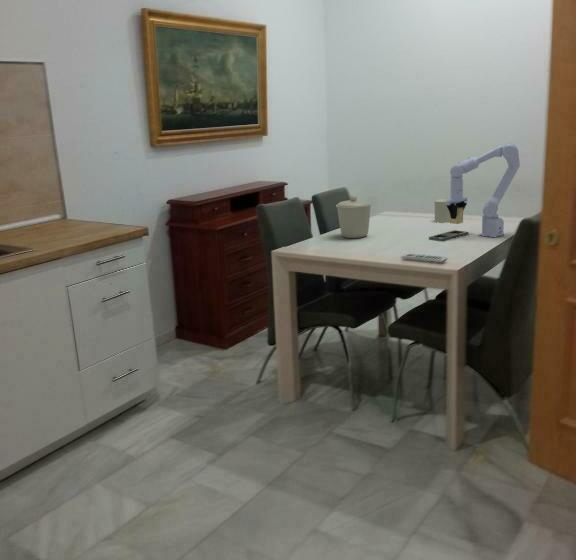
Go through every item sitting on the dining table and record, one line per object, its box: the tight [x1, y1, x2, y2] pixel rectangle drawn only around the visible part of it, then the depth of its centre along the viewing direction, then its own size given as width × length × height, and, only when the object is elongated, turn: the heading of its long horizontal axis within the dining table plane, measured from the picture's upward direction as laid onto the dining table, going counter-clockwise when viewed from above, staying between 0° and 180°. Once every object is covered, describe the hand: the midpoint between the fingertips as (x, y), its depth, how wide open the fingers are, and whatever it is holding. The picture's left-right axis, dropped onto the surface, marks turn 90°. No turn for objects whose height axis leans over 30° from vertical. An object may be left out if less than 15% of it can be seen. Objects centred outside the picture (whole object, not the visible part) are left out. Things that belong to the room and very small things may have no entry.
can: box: [434, 198, 450, 224], centre depth 348 cm, size 9×9×12 cm
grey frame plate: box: [428, 229, 469, 242], centre depth 309 cm, size 8×20×1 cm, turn 129°
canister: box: [335, 194, 373, 239], centre depth 321 cm, size 18×18×21 cm
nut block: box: [449, 207, 464, 225], centre depth 310 cm, size 4×4×8 cm
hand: (456, 217), depth 310 cm, fingers closed on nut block, 4 cm apart
